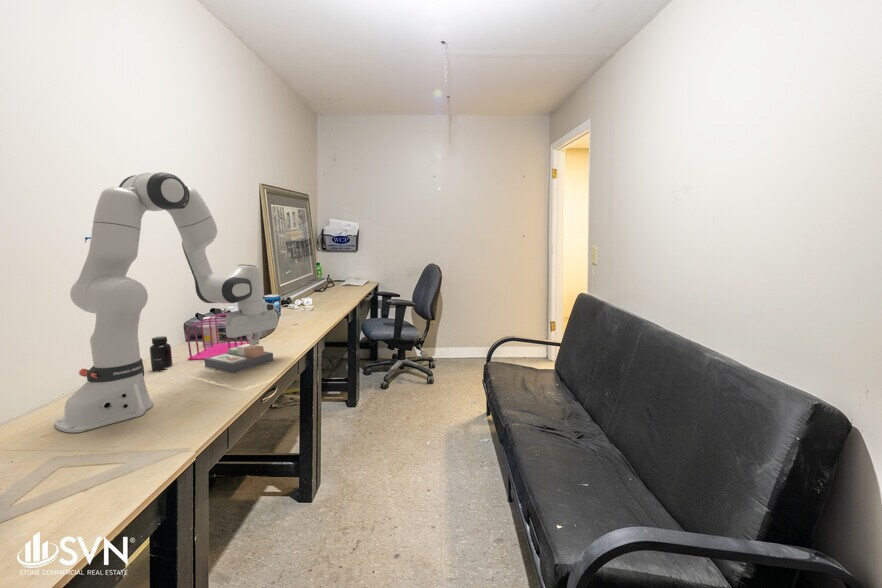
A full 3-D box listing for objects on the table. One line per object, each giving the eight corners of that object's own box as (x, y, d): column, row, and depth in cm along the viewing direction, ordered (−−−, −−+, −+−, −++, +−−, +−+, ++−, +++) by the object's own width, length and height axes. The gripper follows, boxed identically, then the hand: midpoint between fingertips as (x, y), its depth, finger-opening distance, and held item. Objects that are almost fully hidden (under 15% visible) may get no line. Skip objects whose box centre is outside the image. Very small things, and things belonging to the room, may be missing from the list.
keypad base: (233, 375, 164) (232, 363, 163) (205, 369, 173) (204, 357, 172) (273, 363, 178) (272, 351, 178) (245, 357, 187) (244, 346, 186)
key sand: (244, 358, 175) (243, 347, 174) (237, 356, 177) (236, 346, 176) (254, 355, 178) (254, 344, 178) (247, 353, 181) (246, 343, 180)
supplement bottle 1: (153, 372, 170) (150, 340, 169) (150, 369, 176) (146, 337, 174) (175, 368, 175) (171, 337, 173) (170, 365, 180) (167, 334, 178)
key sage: (236, 360, 178) (235, 350, 177) (229, 359, 180) (228, 348, 179) (246, 357, 181) (245, 347, 181) (239, 356, 184) (238, 346, 183)
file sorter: (187, 363, 182) (183, 324, 180) (217, 347, 207) (213, 312, 205) (232, 361, 182) (228, 322, 180) (256, 345, 207) (253, 310, 205)
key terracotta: (254, 359, 172) (253, 349, 171) (246, 358, 174) (245, 347, 173) (264, 356, 175) (263, 346, 175) (256, 355, 178) (255, 345, 177)
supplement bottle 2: (214, 342, 214) (212, 315, 212) (222, 344, 210) (219, 316, 209) (200, 346, 209) (197, 318, 207) (208, 348, 205) (205, 319, 203)
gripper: (230, 313, 162) (234, 352, 164) (279, 304, 179) (282, 339, 181) (219, 312, 165) (223, 350, 167) (268, 303, 182) (271, 337, 184)
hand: (254, 344), depth 174 cm, fingers closed
